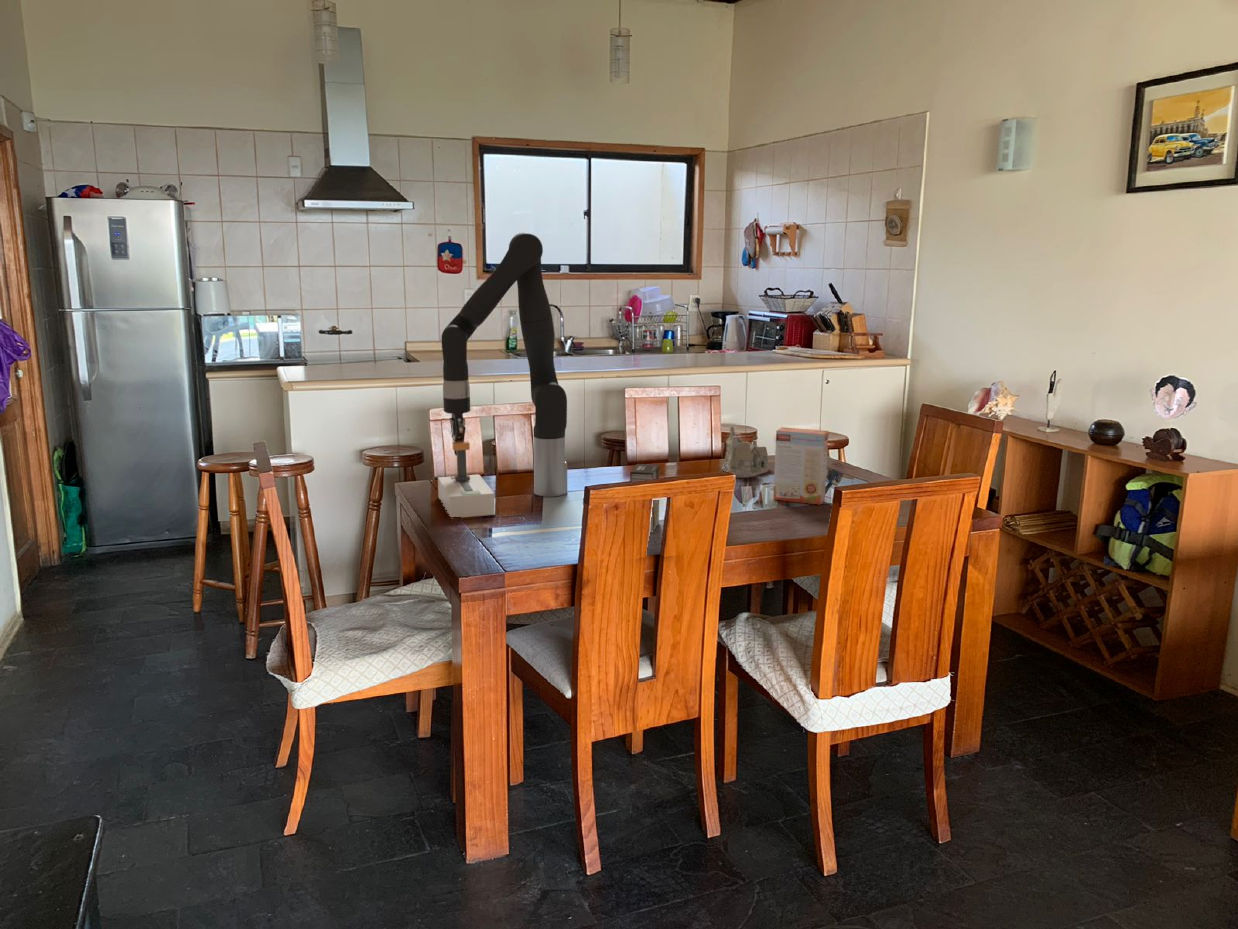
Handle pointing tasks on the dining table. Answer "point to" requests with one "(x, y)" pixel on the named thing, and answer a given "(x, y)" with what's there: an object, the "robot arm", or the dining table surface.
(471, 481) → the switch panel
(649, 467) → the coffee box
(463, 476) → the breaker knob
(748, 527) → the dining table surface
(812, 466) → the cracker box
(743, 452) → the ceramic cottage
